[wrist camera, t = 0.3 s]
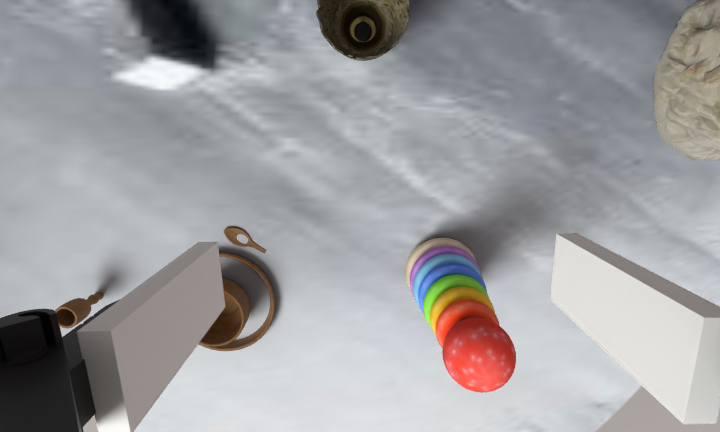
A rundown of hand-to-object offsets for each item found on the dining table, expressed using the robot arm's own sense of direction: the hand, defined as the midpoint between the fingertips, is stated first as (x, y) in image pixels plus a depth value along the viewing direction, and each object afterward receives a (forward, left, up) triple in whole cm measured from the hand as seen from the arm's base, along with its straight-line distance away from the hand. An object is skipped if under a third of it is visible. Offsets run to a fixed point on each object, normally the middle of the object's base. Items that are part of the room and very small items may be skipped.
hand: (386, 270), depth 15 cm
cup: (-14, 0, -27) cm, 31 cm away
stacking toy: (+11, +8, -27) cm, 30 cm away
